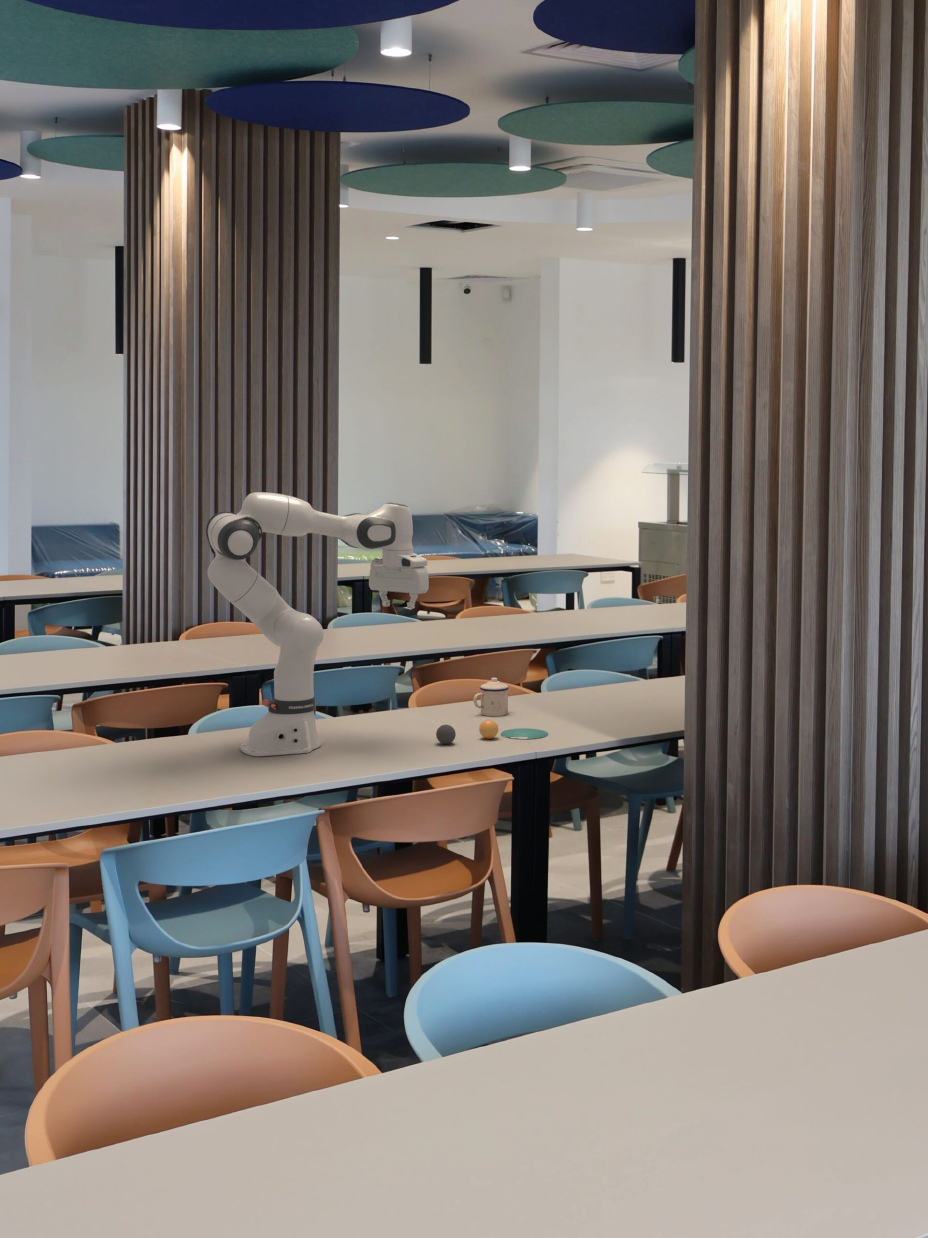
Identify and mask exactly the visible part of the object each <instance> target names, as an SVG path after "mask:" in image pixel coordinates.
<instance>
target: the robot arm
mask: <svg viewBox="0 0 928 1238" xmlns="http://www.w3.org/2000/svg"><path fill="white" fill-rule="evenodd" d="M412 516H413V515H412V511H411V509H410V507H409V506H407V505H406V504H401V503H397V502H396V503H394V502H385V503H384V504H383V505H382V506H380V507H379V508H378V509H376V510H374V511H372V512H371V513H368V514H362V513H359V512H354V513H351V514H345V515H338V514H331V513H328V512H322V511H319V510H315V509H314V508H313V506H312V505H311V504H310V503H309V502H308V501H305V500H303V499H300V498H298V497H295V496H292V495H287V494H283V493H277V492H276V493H275V492H265V491H263V492H262V491H260V492H259V491H257V492H256V491H255V492H251V493H249V494H248V495H247V496H246V497H245V498H244V499H243V502H242V505H241V509H240V510H239V512H237V513H234V512H231V511H220V512H217V513H215V514H213V515H212V516H211V517H210V518H209V520H208V521H207V523H206V527H205V533H206V539H207V542H208V545H209V547H210V551H211V553H212V554H214V555H215V557H214V558H213V559H212V561H211V562H210V564H209V566H208V568H207V577H208V579H209V581H210V582H211V584H212V585H213V586H214V587H215V589H217V591H218V592H219V593H220V594H221V595H222V596H223V597H224V598H225V599H226V600H227V601H228V602H229V603H231V604H232V605H233V606H234V607H235V608H236V609H238V610H239V611H240V612H241V613H242V615H244V616H245V617H246V618H248V619H249V620H250V621H251V623H253V624H254V625H255V627H256V628H257V629H258V630H259V631H260V632H261V634H262V635H263V636H265V638H267V640H268V641H269V642H270V643H271V644H273V645H275V646H277V647H279V649H280V650H279V655H278V660H277V665H276V667H275V668H274V671H273V684H274V685H273V687H274V688H273V692H274V693H273V694H274V697H273V698H272V699H271V700H270V699H267V698H265V699H263V701H262V706H263V707H266V708H267V709H268V712H266V713H265V714H264V715H263V716H262V717H261V718H259V720H257V721H256V722H255V723H253V724H252V725H251V727H250V729H249V731H248V737H247V742H245V743H241V745H240V748H239V749H240V751H241V752H242V753H243V754H246V755H248V756H251V757H252V756H253V757H267V756H268V757H269V756H270V757H271V756H282V755H297V754H307V753H308V754H309V753H310V752H312V751H313V750H315V749H319V747H320V746H322V745H321V742H320V738H319V734H318V730H317V723H316V714H317V704H316V703H317V702H316V696H314V689H315V688H314V672H315V671H314V670H315V669H314V668H315V662H316V657H317V653H318V648H319V646H320V645H321V644H322V642H323V638H324V629H323V626H322V624H321V623H320V622H319V621H318V620H317V619H316V618H315V617H314V616H312V615H311V614H309V613H307V612H302V611H298V610H296V609H294V608H293V607H291V606H290V605H289V604H288V603H287V602H286V601H285V600H284V598H283V597H282V596H281V595H280V593H279V591H278V590H277V589H276V587H274V586H273V585H272V584H271V583H270V582H269V581H268V580H267V579H265V577H263V576H262V575H261V574H260V573H259V572H257V571H256V570H255V569H254V568H253V567H252V566H251V565H250V564H248V562H247V561H246V559H247V558H250V556H252V554H254V552H255V551H256V549H257V546H258V544H259V542H260V540H261V539H262V536H263V535H264V534H263V533H269V534H273V535H278V536H280V535H281V536H284V537H303V536H306V535H307V534H318V535H321V536H322V535H323V536H327V537H332V538H336V539H338V540H339V541H341V542H342V543H344V544H345V545H347V546H348V547H351V548H355V549H366V550H376V549H378V548H381V549H382V551H381V552H382V554H381V555H382V558H378V557H376V558H374V559H372V560H371V562H370V569H369V576H368V587H369V588H370V590H372V591H378V595H379V597H380V599H381V602H382V603H381V605H382V607H390V606H391V600H390V599H389V598H388V596H387V594H388V592H394V593H404V594H405V593H406V594H409V598H410V599H409V601H408V602H406V605H407V606H406V608H407V609H409V610H410V609H411V610H412V609H415V608H416V606H415V605H416V601H417V599H418V597H419V595H420V594H426V593H427V592H428V591H429V589H430V588H429V587H430V583H429V580H430V579H429V571H428V569H427V568H426V567H427V565H428V559H427V558H425V557H423V556H421V555H419V554H417V553H415V552H414V546H413V541H412V540H413V535H414V529H413V527H414V525H413V524H414V523H413V517H412Z"/></svg>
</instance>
